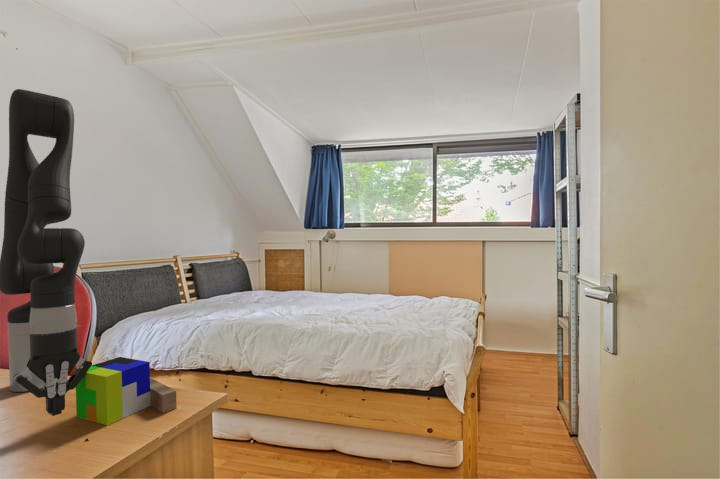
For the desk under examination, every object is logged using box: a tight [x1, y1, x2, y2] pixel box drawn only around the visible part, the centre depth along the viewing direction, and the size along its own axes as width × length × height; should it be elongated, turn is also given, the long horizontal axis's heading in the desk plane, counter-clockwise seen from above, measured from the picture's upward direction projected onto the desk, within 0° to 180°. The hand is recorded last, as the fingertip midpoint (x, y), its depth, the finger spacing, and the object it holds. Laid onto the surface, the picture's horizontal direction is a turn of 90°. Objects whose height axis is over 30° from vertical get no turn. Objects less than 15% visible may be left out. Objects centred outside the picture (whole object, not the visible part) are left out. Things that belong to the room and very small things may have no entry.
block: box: [150, 377, 178, 414], centre depth 95 cm, size 20×3×4 cm, turn 51°
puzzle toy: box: [75, 356, 152, 426], centre depth 88 cm, size 10×10×10 cm
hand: (55, 413), depth 80 cm, fingers closed
